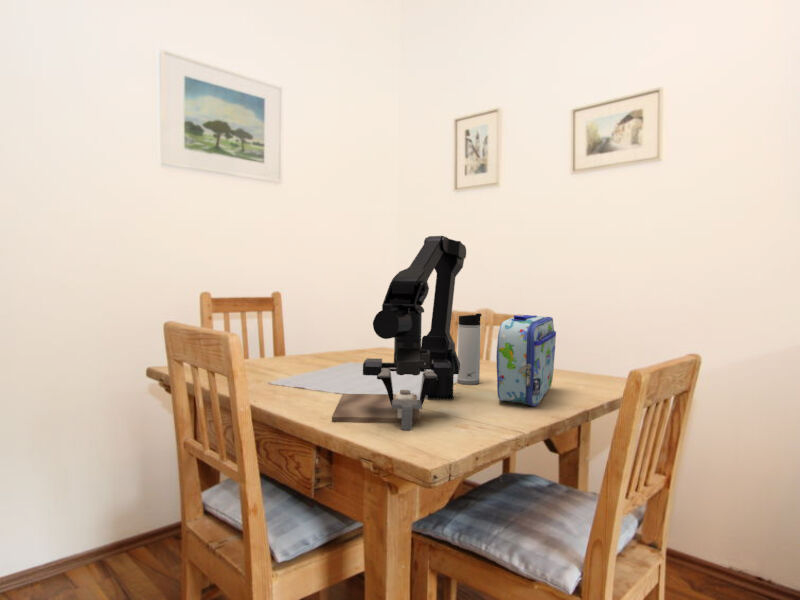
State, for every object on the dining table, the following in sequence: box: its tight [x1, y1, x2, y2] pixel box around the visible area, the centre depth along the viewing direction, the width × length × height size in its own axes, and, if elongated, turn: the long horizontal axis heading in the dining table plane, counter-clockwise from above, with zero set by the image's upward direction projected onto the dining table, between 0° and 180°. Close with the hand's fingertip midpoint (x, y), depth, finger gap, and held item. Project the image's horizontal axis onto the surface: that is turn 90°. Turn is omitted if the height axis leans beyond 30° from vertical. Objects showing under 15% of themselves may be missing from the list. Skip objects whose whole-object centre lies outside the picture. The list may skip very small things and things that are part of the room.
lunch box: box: [495, 314, 557, 407], centre depth 123 cm, size 26×11×21 cm, turn 153°
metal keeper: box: [391, 399, 423, 431], centre depth 97 cm, size 6×6×4 cm
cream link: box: [395, 391, 415, 418], centre depth 106 cm, size 15×4×2 cm, turn 179°
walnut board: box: [331, 389, 422, 424], centre depth 110 cm, size 18×21×4 cm
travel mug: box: [456, 312, 482, 386], centre depth 140 cm, size 6×7×20 cm
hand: (406, 407), depth 105 cm, fingers open, 6 cm apart
